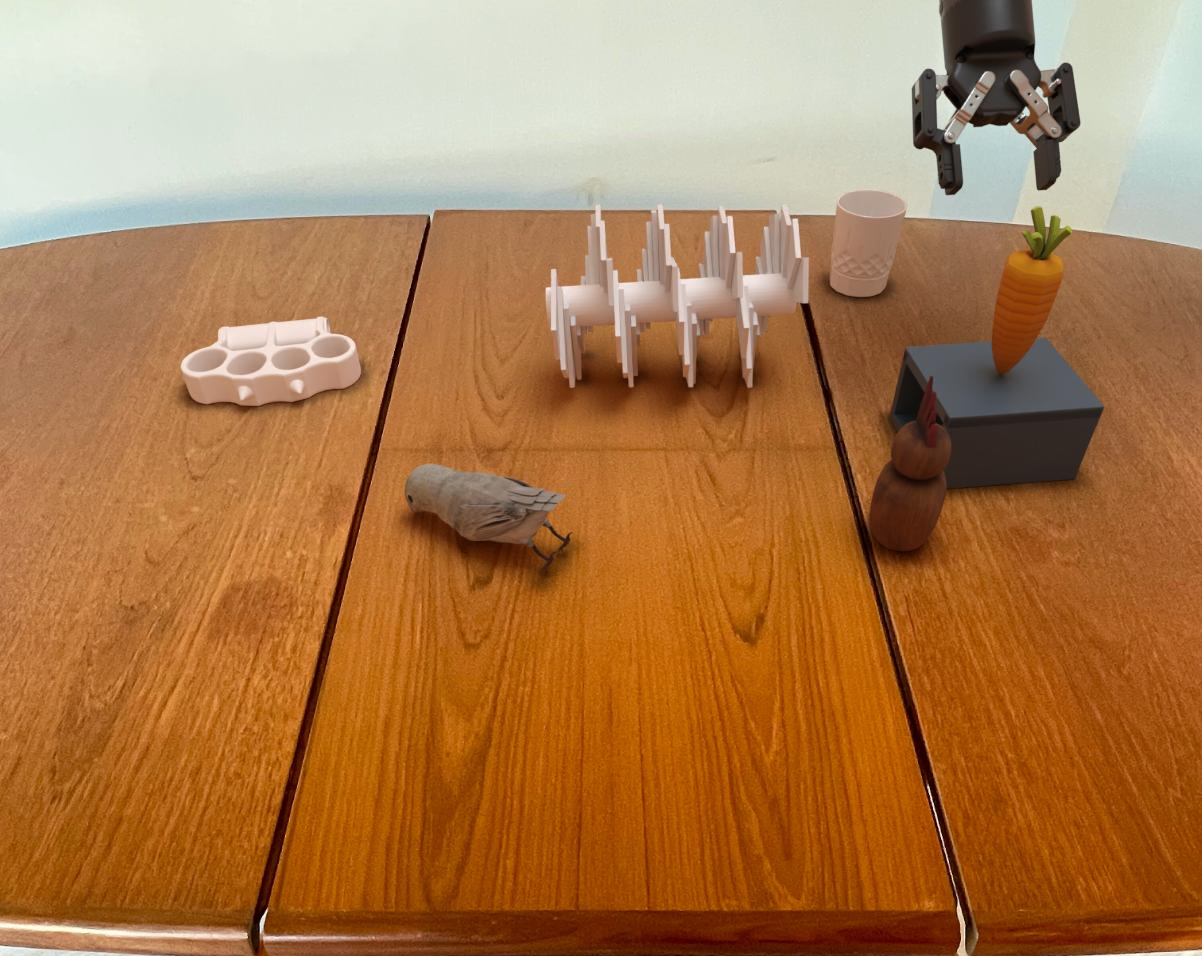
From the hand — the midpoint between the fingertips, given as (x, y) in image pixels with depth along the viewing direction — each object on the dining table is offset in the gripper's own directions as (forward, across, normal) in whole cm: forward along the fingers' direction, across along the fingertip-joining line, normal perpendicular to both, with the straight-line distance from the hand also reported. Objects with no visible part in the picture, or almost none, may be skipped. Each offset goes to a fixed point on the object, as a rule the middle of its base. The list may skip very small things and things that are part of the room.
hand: (1001, 189), depth 87 cm
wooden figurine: (+30, -12, 0) cm, 33 cm away
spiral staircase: (+10, -28, +21) cm, 36 cm away
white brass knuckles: (+6, -70, +25) cm, 74 cm away
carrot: (+16, 0, +3) cm, 16 cm away
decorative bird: (+27, -48, +3) cm, 55 cm away
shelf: (+22, 0, +8) cm, 23 cm away
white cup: (-2, -2, +33) cm, 33 cm away
